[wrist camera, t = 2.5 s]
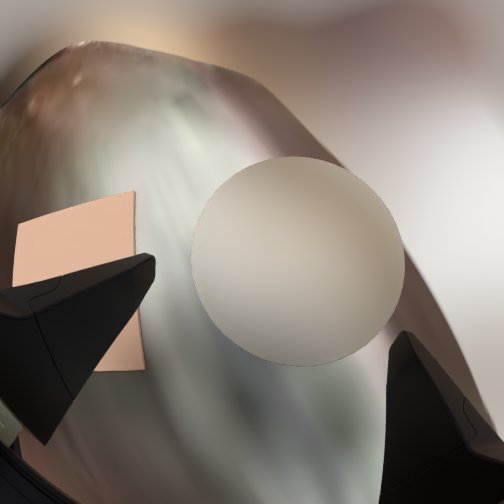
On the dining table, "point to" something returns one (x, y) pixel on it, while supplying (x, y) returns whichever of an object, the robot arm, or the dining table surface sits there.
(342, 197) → the white cylinder
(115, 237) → the placemat
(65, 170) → the dining table surface
